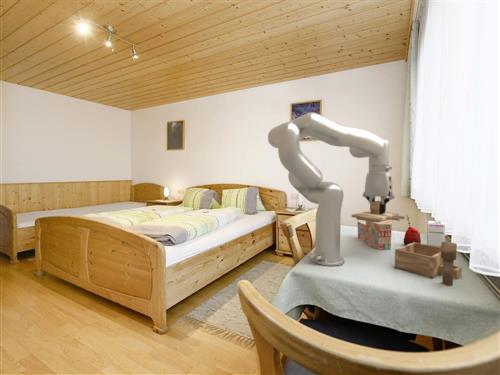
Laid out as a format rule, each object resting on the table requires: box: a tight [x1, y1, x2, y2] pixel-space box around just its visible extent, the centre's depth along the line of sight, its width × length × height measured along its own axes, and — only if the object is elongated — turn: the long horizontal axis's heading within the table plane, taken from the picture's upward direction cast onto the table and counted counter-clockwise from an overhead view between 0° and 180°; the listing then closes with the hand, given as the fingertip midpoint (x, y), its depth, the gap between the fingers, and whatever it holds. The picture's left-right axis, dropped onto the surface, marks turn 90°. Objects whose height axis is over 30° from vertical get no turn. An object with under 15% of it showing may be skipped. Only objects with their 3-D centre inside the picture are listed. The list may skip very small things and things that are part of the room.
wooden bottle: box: [441, 241, 458, 287], centre depth 81 cm, size 4×4×13 cm
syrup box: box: [426, 220, 446, 247], centre depth 107 cm, size 6×6×14 cm
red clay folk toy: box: [403, 214, 422, 246], centre depth 122 cm, size 8×7×15 cm
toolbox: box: [394, 242, 463, 280], centre depth 93 cm, size 16×17×7 cm
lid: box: [351, 200, 406, 223], centre depth 106 cm, size 16×17×7 cm
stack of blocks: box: [357, 220, 393, 251], centre depth 127 cm, size 21×6×12 cm, turn 1°
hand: (377, 212), depth 109 cm, fingers closed on lid, 3 cm apart
